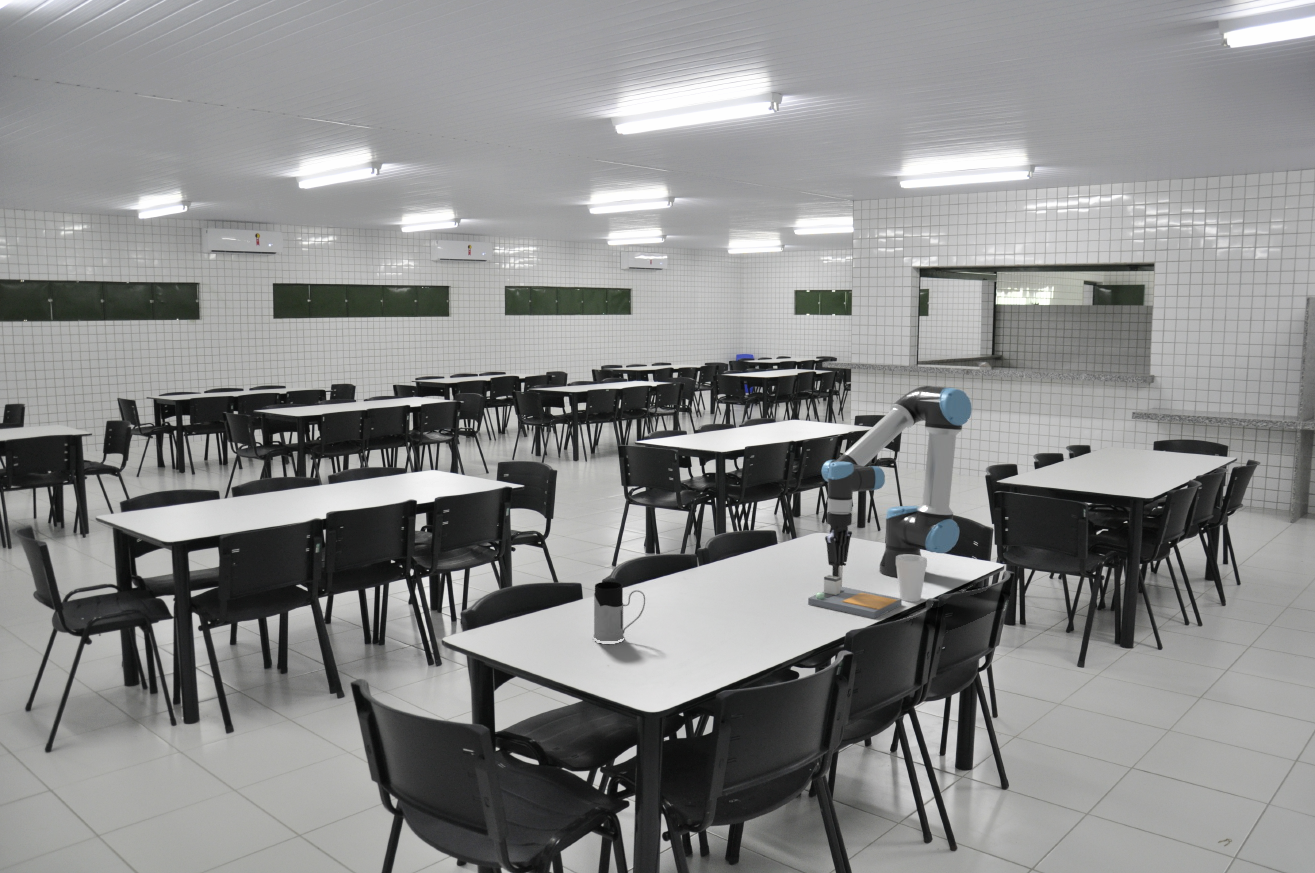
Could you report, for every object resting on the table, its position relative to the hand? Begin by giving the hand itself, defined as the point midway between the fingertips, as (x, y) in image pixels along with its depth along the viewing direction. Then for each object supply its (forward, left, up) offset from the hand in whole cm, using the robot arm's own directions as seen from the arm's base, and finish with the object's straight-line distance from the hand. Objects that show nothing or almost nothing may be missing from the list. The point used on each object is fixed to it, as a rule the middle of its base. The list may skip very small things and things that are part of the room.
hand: (836, 585), depth 302 cm
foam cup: (-14, +18, -4) cm, 23 cm away
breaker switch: (+3, 0, -2) cm, 4 cm away
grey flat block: (+3, +8, -4) cm, 10 cm away
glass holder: (+74, -25, -4) cm, 79 cm away
